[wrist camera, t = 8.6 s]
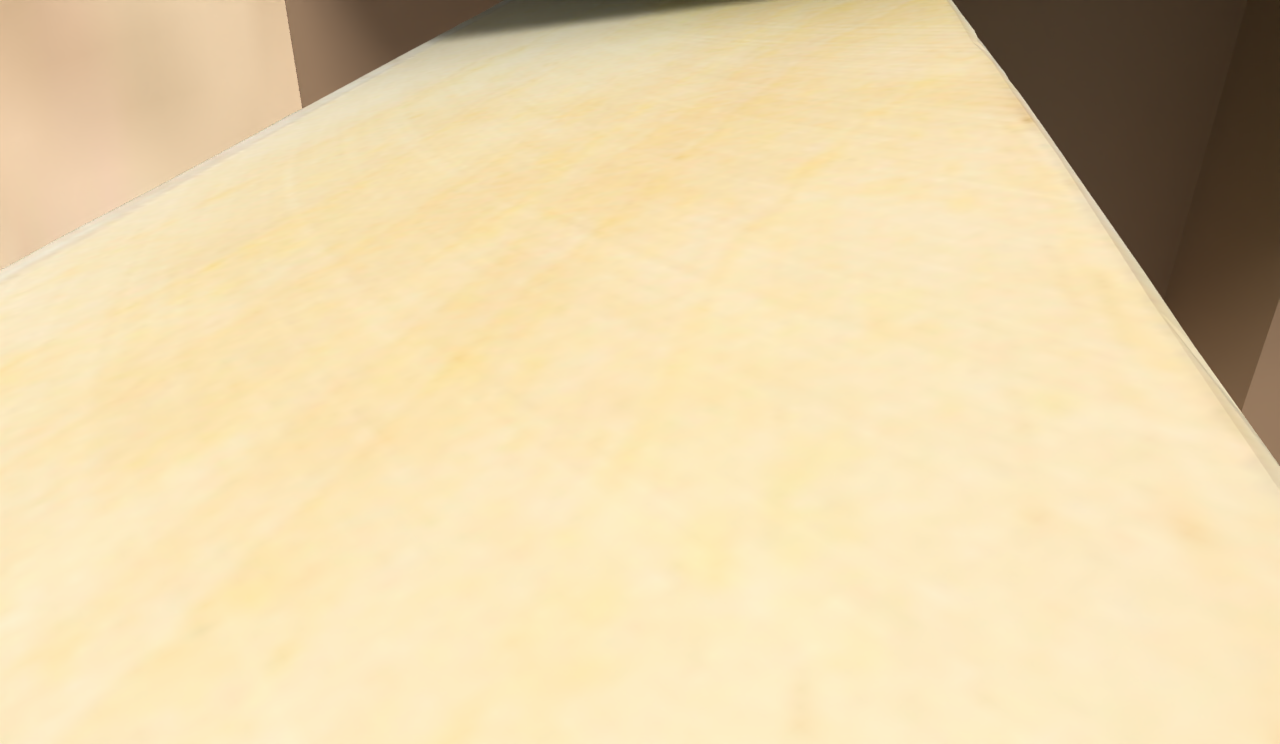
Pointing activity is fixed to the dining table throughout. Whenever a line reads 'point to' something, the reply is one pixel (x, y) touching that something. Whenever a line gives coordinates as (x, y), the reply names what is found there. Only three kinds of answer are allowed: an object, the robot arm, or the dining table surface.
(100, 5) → the dining table surface
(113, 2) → the dining table surface
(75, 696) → the toy refrigerator
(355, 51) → the cleat board
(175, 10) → the dining table surface
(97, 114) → the dining table surface
